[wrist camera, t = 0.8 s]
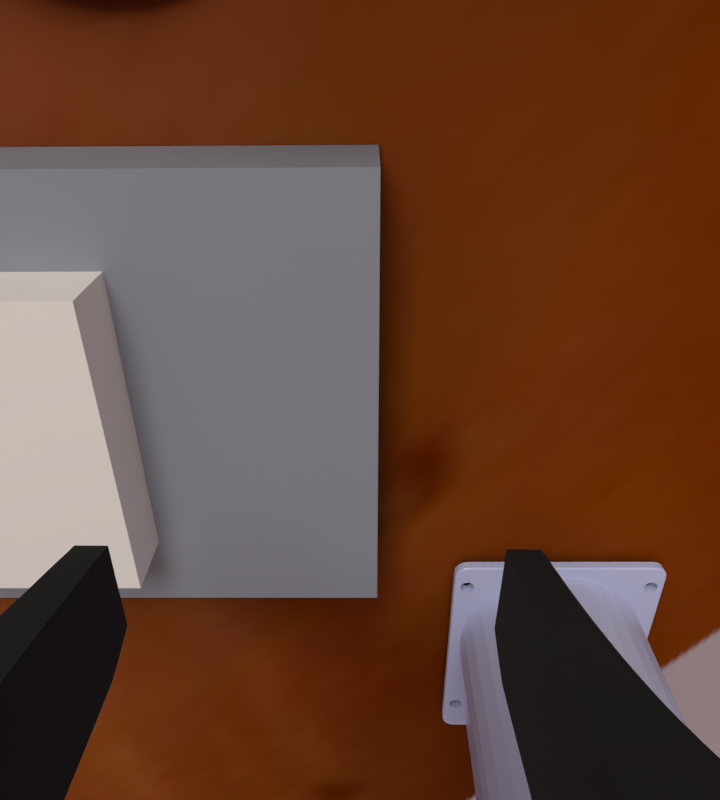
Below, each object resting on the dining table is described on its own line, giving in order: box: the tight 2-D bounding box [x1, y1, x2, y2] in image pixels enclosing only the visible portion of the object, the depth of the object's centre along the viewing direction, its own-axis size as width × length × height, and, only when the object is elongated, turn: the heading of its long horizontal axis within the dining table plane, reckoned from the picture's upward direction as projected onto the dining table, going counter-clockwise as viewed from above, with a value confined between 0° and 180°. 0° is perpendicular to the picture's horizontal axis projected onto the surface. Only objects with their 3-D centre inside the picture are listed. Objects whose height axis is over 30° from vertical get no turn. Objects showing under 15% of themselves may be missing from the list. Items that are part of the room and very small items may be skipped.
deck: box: [0, 145, 381, 598], centre depth 20 cm, size 14×15×3 cm
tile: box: [0, 272, 159, 588], centre depth 18 cm, size 9×6×2 cm, turn 0°
